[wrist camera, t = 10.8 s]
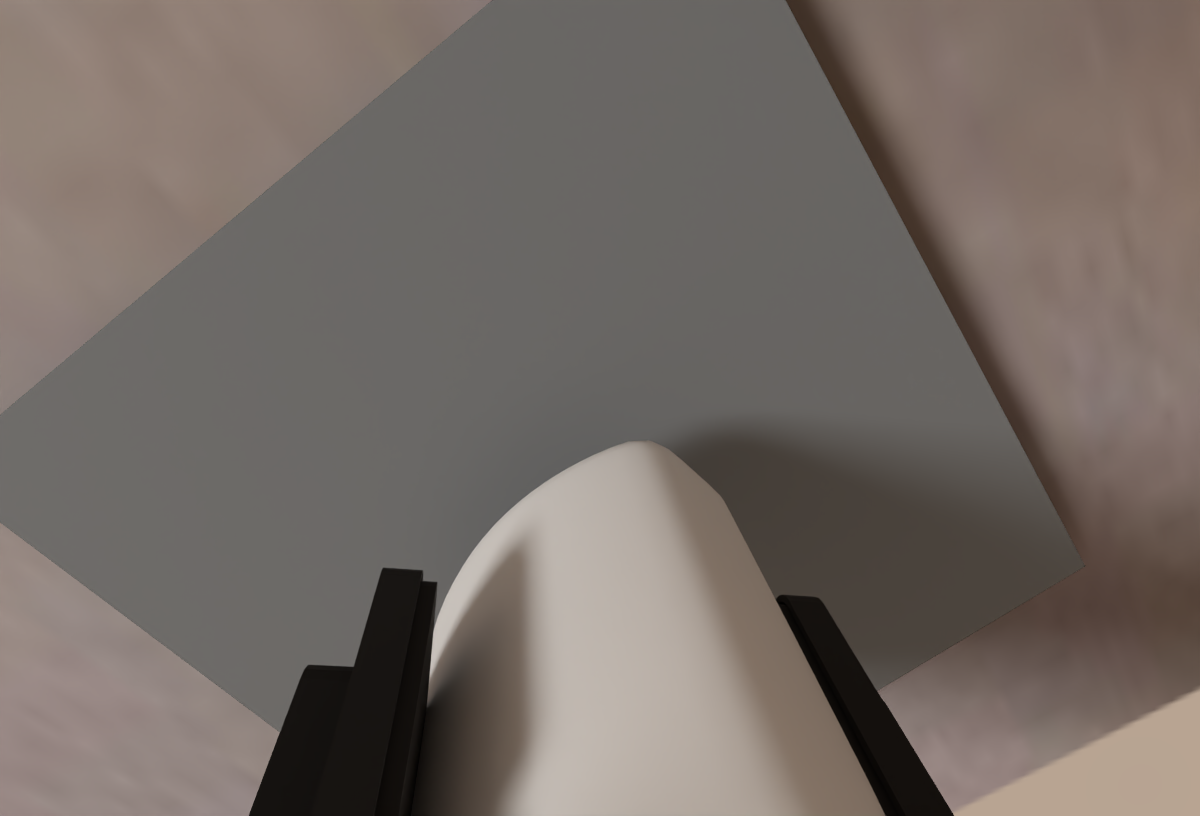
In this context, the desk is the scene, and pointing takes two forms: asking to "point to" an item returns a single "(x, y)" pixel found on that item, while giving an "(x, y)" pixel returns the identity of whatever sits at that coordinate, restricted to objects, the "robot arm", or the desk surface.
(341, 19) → the desk surface
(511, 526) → the eye dropper bottle
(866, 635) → the charcoal mat
